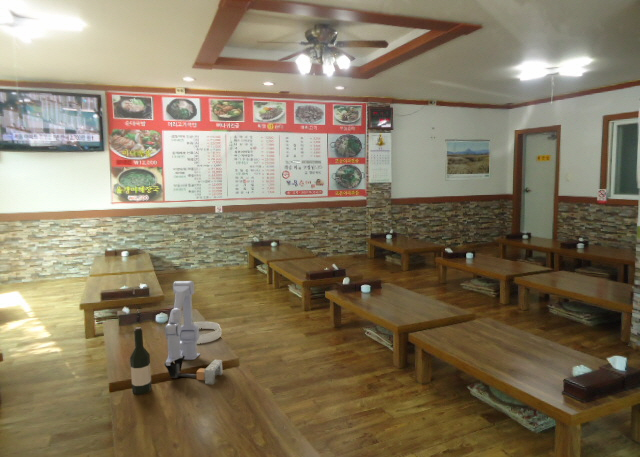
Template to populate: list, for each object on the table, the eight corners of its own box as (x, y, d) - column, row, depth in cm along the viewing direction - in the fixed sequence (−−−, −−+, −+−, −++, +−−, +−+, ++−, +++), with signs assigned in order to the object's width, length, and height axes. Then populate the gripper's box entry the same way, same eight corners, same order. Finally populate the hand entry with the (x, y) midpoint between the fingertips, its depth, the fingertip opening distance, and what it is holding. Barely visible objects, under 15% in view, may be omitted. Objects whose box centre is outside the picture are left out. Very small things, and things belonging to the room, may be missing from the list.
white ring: (202, 326, 298) (202, 318, 298) (230, 334, 283) (230, 325, 282) (167, 338, 277) (167, 330, 276) (196, 347, 261) (195, 338, 260)
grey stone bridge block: (205, 384, 214) (204, 369, 213) (214, 373, 226) (214, 359, 225) (213, 384, 213) (212, 370, 213) (222, 373, 225) (221, 360, 224)
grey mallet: (170, 378, 221) (170, 366, 220) (174, 374, 225) (174, 363, 224) (207, 380, 218) (206, 368, 217) (210, 376, 222) (209, 364, 221)
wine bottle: (155, 387, 211) (151, 325, 208) (143, 396, 203) (139, 331, 200) (141, 385, 214) (137, 324, 210) (128, 393, 206) (123, 330, 202)
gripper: (174, 353, 213) (176, 380, 215) (188, 342, 228) (189, 367, 229) (160, 352, 214) (162, 379, 216) (175, 341, 229) (176, 367, 230)
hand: (175, 373), depth 223 cm, fingers open, 6 cm apart
